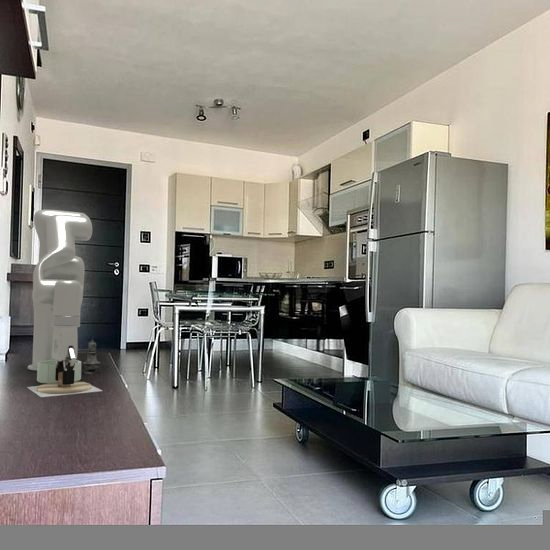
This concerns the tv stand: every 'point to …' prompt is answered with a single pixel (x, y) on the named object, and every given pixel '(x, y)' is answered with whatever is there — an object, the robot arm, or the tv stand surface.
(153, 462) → the tv stand surface
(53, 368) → the bowl
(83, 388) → the lid
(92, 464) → the tv stand surface
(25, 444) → the tv stand surface
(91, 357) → the salt shaker
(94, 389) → the mat
